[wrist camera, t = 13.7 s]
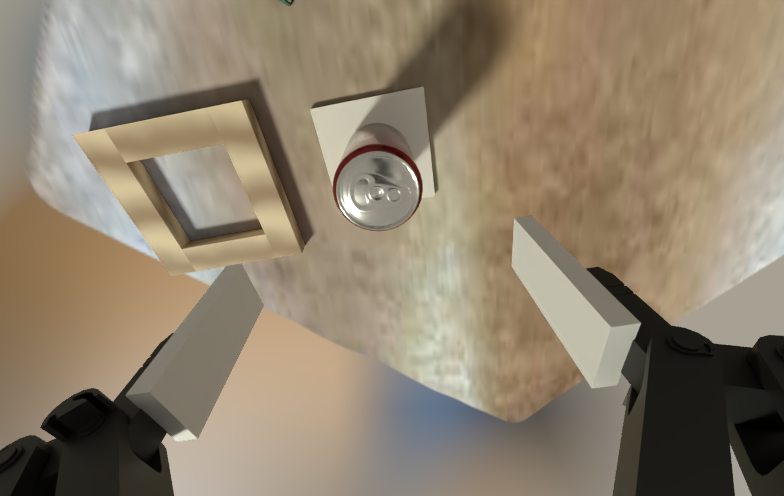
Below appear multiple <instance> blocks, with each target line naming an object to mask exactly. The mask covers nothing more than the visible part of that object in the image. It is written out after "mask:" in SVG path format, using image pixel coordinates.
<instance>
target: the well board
mask: <svg viewBox="0 0 784 496" xmlns="http://www.w3.org/2000/svg"><path fill="white" fill-rule="evenodd" d="M72 136H73V138H74V139H75V140H76V142H77V143H78V145H79V146H80V147H81V149H82V150H83V152H84V153H85V155H86V156H87V157H88V159H89V160H90V162H91V163H92V164H93V166H94V167H95V169H96V170H97V171H98V173H99V174H100V176H101V177H102V179H103V180H104V181H105V183H106V184H107V186H108V187H109V188H110V190H111V191H112V193H113V194H114V196H115V197H116V198H117V200H118V201H119V203H120V204H121V205H122V207H123V208H124V210H125V211H126V213H127V214H128V215H129V217H130V218H131V220H132V221H133V222H134V224H135V225H136V227H137V228H138V230H139V231H140V232H141V234H142V235H143V237H144V238H145V239H146V241H147V242H148V244H149V245H150V247H151V248H152V249H153V251H154V252H155V254H156V255H157V256H158V258H159V259H160V261H161V262H162V264H163V265H164V266H165V268H166V269H167V271H168V272H169V273H170V275H177V274H183V273H189V272H195V271H200V270H206V269H212V268H218V267H224V266H229V265H235V264H241V263H247V262H253V261H259V260H265V259H271V258H277V257H282V256H288V255H294V254H300V253H302V252H303V249H304V247H305V244H304V241H303V238H302V236H301V233H300V231H299V228H298V225H297V223H296V220H295V218H294V215H293V212H292V210H291V207H290V204H289V202H288V199H287V197H286V194H285V191H284V189H283V186H282V184H281V181H280V178H279V176H278V173H277V171H276V168H275V165H274V163H273V160H272V157H271V155H270V152H269V150H268V147H267V144H266V142H265V139H264V137H263V134H262V131H261V129H260V126H259V124H258V121H257V118H256V116H255V113H254V110H253V108H252V105H251V103H250V100H249V99H246V100H241V101H236V102H231V103H226V104H221V105H217V106H212V107H207V108H202V109H197V110H192V111H187V112H182V113H177V114H172V115H167V116H162V117H158V118H153V119H148V120H143V121H138V122H133V123H128V124H123V125H118V126H113V127H108V128H104V129H99V130H94V131H89V132H84V133H79V134H74V135H72ZM220 144H224V145H225V147H226V149H227V151H228V154H229V156H230V158H231V160H232V162H233V165H234V167H235V169H236V171H237V173H238V176H239V178H240V180H241V182H242V184H243V187H244V189H245V191H246V193H247V195H248V198H249V200H250V202H251V204H252V206H253V209H254V211H255V213H256V215H257V217H258V220H259V222H260V224H261V226H262V229H257V230H251V231H245V232H240V233H234V234H228V235H223V236H217V237H212V238H206V239H200V240H195V241H190V240H189V238H188V237H187V235H186V233H185V232H184V230H183V229H182V227H181V225H180V224H179V222H178V220H177V219H176V217H175V216H174V214H173V212H172V211H171V209H170V207H169V206H168V204H167V203H166V201H165V199H164V198H163V196H162V194H161V193H160V191H159V190H158V188H157V186H156V185H155V183H154V182H153V180H152V178H151V177H150V175H149V173H148V172H147V170H146V169H145V167H144V165H143V164H142V162H141V160H143V159H148V158H153V157H159V156H164V155H169V154H174V153H179V152H184V151H189V150H194V149H199V148H205V147H210V146H215V145H220Z"/></svg>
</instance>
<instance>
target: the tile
mask: <svg viewBox="0 0 784 496" xmlns="http://www.w3.org/2000/svg"><path fill="white" fill-rule="evenodd" d="M310 111H311V115H312V118H313V122H314V125H315V128H316V132H317V135H318V139H319V142H320V146H321V149H322V152H323V156H324V159H325V163H326V166H327V170H328V173H329V177H330V180H331V183H332V187H333V179H334V175H335V172H336V170H337V168H338V165H339V163H340V160H341V158H342V156H343V153H344V151H345V149H346V146H347V144H348V141H349V139H350V138H351V136H352V135H353V134H354V133H355V132H356V131H357V130H358V129H359V128H361V127H363V126H365V125H368V124H371V123H384V124H387V125H390V126H392V127H394V128H396V129H397V130H398V131H399V132H401V133H402V135H403V136H404V137H405V139H406V141H407V143H408V145H409V147H410V150H411V152H412V154H413V157H414V159H415V162H416V164H417V166H418V169H419V171H420V174H421V178H422V182H423V193H422V198H427V197H432V196H435V192H434V182H433V172H432V162H431V153H430V143H429V133H428V123H427V114H426V104H425V94H424V87H423V86H422V87H417V88H412V89H407V90H402V91H397V92H392V93H387V94H382V95H377V96H372V97H367V98H362V99H357V100H352V101H347V102H342V103H337V104H332V105H327V106H322V107H317V108H312V109H310ZM339 211H340V210H339ZM340 213H341V211H340Z"/></svg>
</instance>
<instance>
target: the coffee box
mask: <svg viewBox="0 0 784 496" xmlns="http://www.w3.org/2000/svg"><path fill="white" fill-rule="evenodd" d="M280 1H281V2H283V3H285V4H286V5H288V6H291V4H292V0H280Z"/></svg>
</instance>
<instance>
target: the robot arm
mask: <svg viewBox="0 0 784 496" xmlns="http://www.w3.org/2000/svg"><path fill="white" fill-rule="evenodd" d="M512 268H513V269H514V271H515V272H516V274H517V275H518V277H519V278H520V280H521V281H522V283H523V284H524V286H525V287H526V289H527V290H528V292H529V294H530V295H531V297H532V298H533V300H534V301H535V303H536V304H537V306H538V307H539V309H540V310H541V312H542V313H543V315H544V316H545V318H546V319H547V321H548V322H549V324H550V325H551V327H552V328H553V330H554V332H555V333H556V335H557V336H558V338H559V339H560V341H561V342H562V344H563V345H564V347H565V348H566V350H567V351H568V353H569V354H570V356H571V357H572V359H573V360H574V362H575V363H576V365H577V366H578V368H579V370H580V371H581V373H582V374H583V376H584V377H585V379H586V380H587V382H588V383H589V385H590V386H591V387H592V388H599V387H607V386H614V385H617V384H618V381H619V378H620V376H621V374H623V375H624V376H625V378H626V379H627V380H628V381H629V383H630V384H631V386H630V388H629V391H628V393H627V395H626V397H625V400H624V402H623V405H624V406H626V411H625V417H624V423H623V430H622V437H621V443H620V450H619V456H618V463H617V471H616V476H615V483H614V490H613V496H735V493H734V484H733V473H732V464H731V453H730V444H731V447H732V449H733V451H734V454H735V456H736V458H737V461H738V464H739V466H740V468H741V471H742V473H743V475H744V478H745V480H746V482H747V485H748V487H749V490H750V492H751V494H752V496H784V336H775V335H768V336H764V337H760V338H759V339H758V341H757V342H756V344H755V345H754V346H753V348H750V347H740V346H731V345H721V344H714V343H712V342H711V341H710V340H709V339H707V338H706V337H704V336H702V335H700V334H699V333H697V332H694V331H692V330H689V329H686V328H682V327H676V326H671V325H670V324H669V323H667V322H666V321H665V320H664V319H663V318H662V317H661V316H660V315H658V314H657V313H656V312H655V311H654V310H653V309H652V308H651V307H649V306H648V305H647V304H646V303H645V302H644V301H643V300H642V299H640V298H639V297H638V296H637V295H636V294H633V291H631V290H630V289H629V288H628V287H627V286H624V283H622V282H621V281H620V280H619V279H618V278H617V277H616V276H615V275H613V274H612V273H610V272H608V271H606V270H604V269H601V268H599V267H594V268H587V269H585V268H584V267H583V266H582V265H581V264H580V263H579V262H578V261H577V260H576V259H575V258H574V257H573V256H572V255H571V254H570V253H569V252H568V251H567V250H566V249H565V248H564V247H563V246H562V245H561V244H560V243H559V242H558V241H557V240H556V239H555V238H554V237H553V236H552V235H551V234H550V233H549V232H548V231H547V230H546V229H545V228H544V227H543V226H542V225H541V224H540V223H539V222H538V221H537V220H536V219H534V218H533V217H532V216H531V215H530V216H524V217H518V218H514V232H513V251H512ZM263 306H264V304H263V303H262V301H261V299H260V297H259V295H258V293H257V291H256V290H255V288H254V286H253V284H252V282H251V280H250V279H249V277H248V275H247V273H246V271H245V269H244V268H243V266H242V264H235V265H229V266H226V267H225V268H224V270H223V271H222V272H221V274H220V275H219V276H218V277H217V279H216V280H215V281H214V282H213V284H212V285H211V286H210V288H209V289H208V290H207V291H206V293H205V294H204V295H203V297H202V298H201V299H200V300H199V302H198V303H197V304H196V306H195V307H194V308H193V309H192V311H191V312H190V314H189V315H188V316H187V317H186V318H185V320H184V321H183V322H182V323H181V325H180V326H179V327H178V329H177V330H176V331H175V333H172V334H171V335H170V336H168V337H167V338H166V339H165V340H164V341H162V342H161V343H160V344H159V345H158V347H157V348H156V349H155V350H154V352H153V353H152V354H151V355H150V356H151V357H150V358H148V359H147V360H146V362H145V363H144V364H143V367H141V368H140V369H139V370H138V372H137V373H136V374H135V375H134V376H133V378H132V379H131V380H130V382H129V383H128V384H127V385H126V386H125V388H124V389H123V390H122V392H121V393H120V394H119V395H118V396H117V398H116V399H115V400H114V401H113V402H112V401H111V400H110V399H109V398H108V397H106V396H105V395H104V394H103V393H102V392H100V391H99V390H98V389H94V388H91V389H87V390H83V391H81V392H79V393H77V394H74V395H73V396H71V397H70V398H68V399H66V400H65V401H63V402H62V403H61V404H60V405H58V406H57V407H56V408H55V409H54V410H53V411H52V412H51V413H50V414H49V415H48V416H47V417H46V418H45V420H44V421H43V423H42V425H41V428H42V429H43V430H45V431H47V432H48V433H49V434H51V435H53V436H54V437H55V438H56V439H54V440H51V441H49V442H45V441H43V440H42V439H40V438H39V437H37V436H32V435H30V436H26V437H23V438H20V439H18V440H17V441H15V442H13V443H11V444H9V445H7V446H6V447H4V448H3V449H2V450H0V496H174V493H173V487H172V481H171V474H170V469H169V462H168V457H167V451H166V448H165V446H164V445H163V444H162V443H161V442H162V440H163V438H164V437H165V435H166V433H168V434H169V435H170V436H171V437H172V438H173V439H175V440H176V441H185V440H193V439H198V438H199V435H200V433H201V431H202V429H203V427H204V425H205V423H206V421H207V419H208V417H209V415H210V413H211V411H212V409H213V407H214V405H215V403H216V401H217V399H218V397H219V395H220V393H221V391H222V389H223V387H224V385H225V383H226V381H227V379H228V377H229V375H230V373H231V371H232V369H233V367H234V365H235V363H236V361H237V359H238V357H239V355H240V352H241V351H242V348H243V346H244V344H245V342H246V340H247V338H248V336H249V334H250V332H251V330H252V328H253V326H254V324H255V322H256V320H257V318H258V316H259V314H260V312H261V310H262V308H263Z"/></svg>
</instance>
